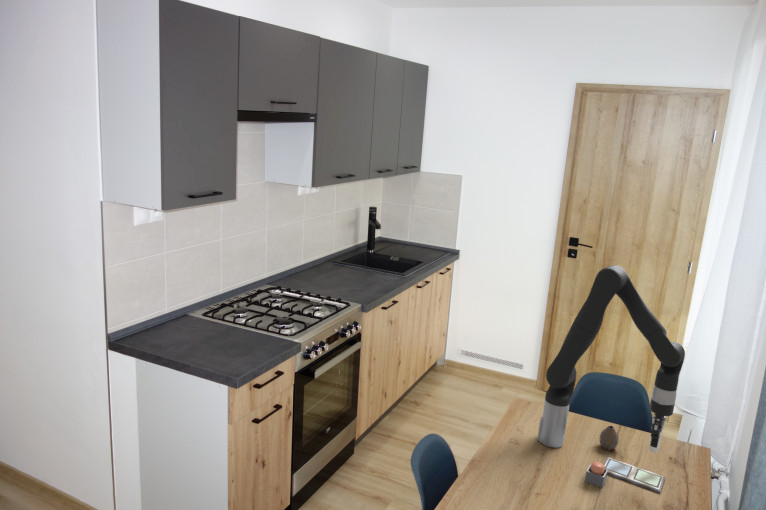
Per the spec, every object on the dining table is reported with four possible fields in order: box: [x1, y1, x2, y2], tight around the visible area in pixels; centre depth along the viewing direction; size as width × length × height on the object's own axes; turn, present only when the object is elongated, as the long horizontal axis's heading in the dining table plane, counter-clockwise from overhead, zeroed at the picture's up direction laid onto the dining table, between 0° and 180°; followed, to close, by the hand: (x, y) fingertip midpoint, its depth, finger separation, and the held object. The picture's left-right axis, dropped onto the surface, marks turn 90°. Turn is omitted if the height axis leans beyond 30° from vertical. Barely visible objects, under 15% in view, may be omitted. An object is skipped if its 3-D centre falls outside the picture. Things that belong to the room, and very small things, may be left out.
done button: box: [590, 461, 605, 476], centre depth 212 cm, size 4×4×3 cm
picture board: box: [603, 456, 666, 494], centre depth 218 cm, size 20×11×1 cm, turn 57°
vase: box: [599, 425, 620, 451], centre depth 235 cm, size 7×7×9 cm
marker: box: [648, 424, 665, 453], centre depth 211 cm, size 4×4×11 cm
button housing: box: [584, 463, 608, 489], centre depth 212 cm, size 6×6×4 cm
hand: (654, 444), depth 212 cm, fingers closed on marker, 3 cm apart
